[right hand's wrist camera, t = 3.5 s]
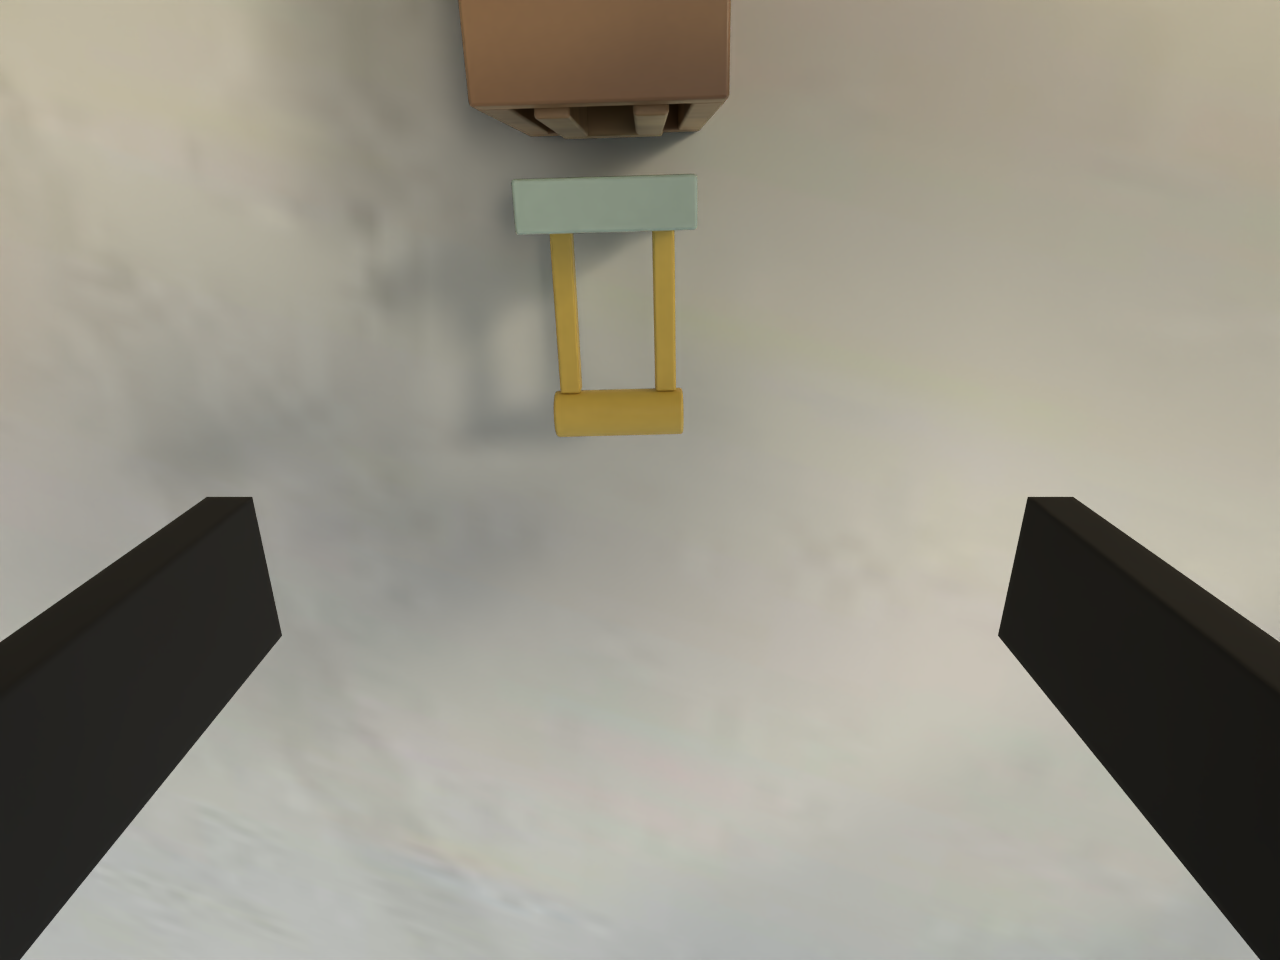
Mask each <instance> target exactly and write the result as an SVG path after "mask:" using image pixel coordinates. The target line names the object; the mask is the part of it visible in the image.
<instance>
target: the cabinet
mask: <svg viewBox="0 0 1280 960" xmlns="http://www.w3.org/2000/svg"><path fill="white" fill-rule="evenodd" d="M458 3H459V12H460V22H461V32H462V42H463V51H464V61H465V71H466V81H467V90H468V100H469V104H470V106H471V107H473V108H475V109H477V110H479V111H481V112H483V113H485V114H487V115H489V116H491V117H493V118H495V119H497V120H499V121H501V122H503V123H505V124H507V125H509V126H511V127H513V128H515V129H517V130H519V131H521V132H523V133H525V134H527V135H529V136H560V135H559V134H557V133H556V132H554V131H553V130H552V129H550V128H549V127H547V126H546V125H544V124H543V123H541V122H540V121H538V120H537V119H536V118H535V116H534V108H556V107H588V106H619V105H651V104H669V112H668V115H667V119H666V122H665V125H664V129H663V132H690V131H699V130H700V129H701V128H702V127H703V126H704V124H705V123H706V122H707V121H708V120H709V119H710V118H711V117H712V115H713V114H714V113H715V112H716V111H717V110H718V109H719V108H720V106H721V105H722V104H723V103H724V102H725V101H726V99H727V98H728V96H729V74H730V10H731V0H458Z"/></svg>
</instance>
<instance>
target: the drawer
mask: <svg viewBox="0 0 1280 960" xmlns="http://www.w3.org/2000/svg"><path fill="white" fill-rule="evenodd" d="M668 112H669V104H651V105H619V106H588V107H556V108H534V116H535V118H536V119H537V120H538V121H540V122H541V123H543V124H544V125H546V126H547V127H549V128H550V129H552V130H553V131H554V132H556V133H557V134H559V135H560V136H562V137H563V138H564V139H585V138H617V137H650V136H662V133H663V129H664V125H665V122H666V119H667V115H668ZM511 186H512V197H513V209H514V221H515V232H516V234H518V235H532V234H550V247H551V262H552V276H553V290H554V304H555V319H556V333H557V347H558V362H559V376H560V390H561V391H557V392H556V393H555V396H554V424H555V431H556V434H557V436H559V437H573V436H613V435H654V434H681V433H682V432H683V393H682V389H681V388H676V353H675V250H674V230H695V229H696V228H697V175H695V174H673V175H640V176H607V177H574V178H541V179H514V180H512V182H511ZM635 231H652V251H653V300H654V349H655V388H653V389H614V390H581V389H582V377H581V360H580V343H579V326H578V309H577V292H576V274H575V257H574V240H573V233H601V232H635Z"/></svg>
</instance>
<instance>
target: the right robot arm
mask: <svg viewBox="0 0 1280 960" xmlns="http://www.w3.org/2000/svg"><path fill="white" fill-rule="evenodd" d="M281 636H282V634H281V629H280V624H279V620H278V615H277V610H276V606H275V601H274V596H273V592H272V587H271V582H270V578H269V573H268V568H267V564H266V559H265V554H264V550H263V545H262V541H261V536H260V531H259V527H258V522H257V517H256V513H255V508H254V503H253V499H252V497H206V498H205V499H203V500H202V501H201V502H199V503H198V504H196V505H195V506H193V507H192V508H191V509H189V510H188V511H186V512H185V513H183V514H182V515H181V516H179V517H178V518H176V519H175V520H174V521H172V522H171V523H169V524H168V525H166V526H165V527H164V528H162V529H161V530H159V531H158V532H156V533H155V534H154V535H152V536H151V537H149V538H148V539H146V540H145V541H144V542H142V543H141V544H139V545H138V546H137V547H135V548H134V549H132V550H131V551H129V552H128V553H127V554H125V555H124V556H122V557H121V558H119V559H118V560H117V561H115V562H114V563H112V564H111V565H110V566H108V567H107V568H105V569H104V570H102V571H101V572H100V573H98V574H97V575H95V576H94V577H92V578H91V579H90V580H88V581H87V582H85V583H84V584H82V585H81V586H80V587H78V588H77V589H75V590H74V591H73V592H71V593H70V594H68V595H67V596H65V597H64V598H63V599H61V600H60V601H58V602H57V603H55V604H54V605H53V606H51V607H50V608H48V609H47V610H46V611H44V612H43V613H41V614H40V615H38V616H37V617H36V618H34V619H33V620H31V621H30V622H28V623H27V624H26V625H24V626H23V627H21V628H20V629H18V630H17V631H16V632H14V633H13V634H11V635H10V636H9V637H7V638H6V639H4V640H3V641H1V642H0V960H20V959H21V958H22V956H23V955H24V954H25V953H26V952H27V950H28V949H29V948H30V947H31V945H32V944H33V943H34V942H35V940H36V939H37V938H38V937H39V935H40V934H41V933H42V932H43V930H44V929H45V928H46V927H47V926H48V924H49V923H50V922H51V921H52V919H53V918H54V917H55V916H56V914H57V913H58V912H59V911H60V909H61V908H62V907H63V906H64V905H65V903H66V902H67V901H68V900H69V898H70V897H71V896H72V895H73V893H74V892H75V891H76V890H77V888H78V887H79V886H80V885H81V883H82V882H83V881H84V880H85V879H86V877H87V876H88V875H89V874H90V872H91V871H92V870H93V869H94V867H95V866H96V865H97V864H98V862H99V861H100V860H101V859H102V858H103V856H104V855H105V854H106V853H107V851H108V850H109V849H110V848H111V846H112V845H113V844H114V843H115V841H116V840H117V839H118V838H119V836H120V835H121V834H122V833H123V832H124V830H125V829H126V828H127V827H128V825H129V824H130V823H131V822H132V820H133V819H134V818H135V817H136V815H137V814H138V813H139V812H140V810H141V809H142V808H143V807H144V806H145V804H146V803H147V802H148V801H149V799H150V798H151V797H152V796H153V794H154V793H155V792H156V791H157V789H158V788H159V787H160V786H161V785H162V783H163V782H164V781H165V780H166V778H167V777H168V776H169V775H170V773H171V772H172V771H173V770H174V768H175V767H176V766H177V765H178V763H179V762H180V761H181V760H182V759H183V757H184V756H185V755H186V754H187V752H188V751H189V750H190V749H191V747H192V746H193V745H194V744H195V742H196V741H197V740H198V739H199V737H200V736H201V735H202V734H203V733H204V731H205V730H206V729H207V728H208V726H209V725H210V724H211V723H212V721H213V720H214V719H215V718H216V716H217V715H218V714H219V713H220V712H221V710H222V709H223V708H224V707H225V705H226V704H227V703H228V702H229V700H230V699H231V698H232V697H233V695H234V694H235V693H236V692H237V690H238V689H239V688H240V687H241V686H242V684H243V683H244V682H245V681H246V679H247V678H248V677H249V676H250V674H251V673H252V672H253V671H254V669H255V668H256V667H257V666H258V664H259V663H260V662H261V661H262V660H263V658H264V657H265V656H266V655H267V653H268V652H269V651H270V650H271V648H272V647H273V646H274V645H275V643H276V642H277V641H278V640H279V639H280V637H281ZM998 636H999V637H1000V639H1001V640H1002V641H1003V642H1004V643H1005V645H1006V646H1007V647H1008V648H1009V650H1010V651H1011V652H1012V653H1013V655H1014V656H1015V657H1016V658H1017V660H1018V661H1019V662H1020V663H1021V664H1022V666H1023V667H1024V668H1025V669H1026V671H1027V672H1028V673H1029V674H1030V676H1031V677H1032V678H1033V679H1034V681H1035V682H1036V683H1037V684H1038V686H1039V687H1040V688H1041V689H1042V690H1043V692H1044V693H1045V694H1046V695H1047V697H1048V698H1049V699H1050V700H1051V702H1052V703H1053V704H1054V705H1055V707H1056V708H1057V709H1058V710H1059V712H1060V713H1061V714H1062V715H1063V716H1064V718H1065V719H1066V720H1067V721H1068V723H1069V724H1070V725H1071V726H1072V728H1073V729H1074V730H1075V731H1076V733H1077V734H1078V735H1079V736H1080V737H1081V739H1082V740H1083V741H1084V742H1085V744H1086V745H1087V746H1088V747H1089V749H1090V750H1091V751H1092V752H1093V754H1094V755H1095V756H1096V757H1097V759H1098V760H1099V761H1100V762H1101V763H1102V765H1103V766H1104V767H1105V768H1106V770H1107V771H1108V772H1109V773H1110V775H1111V776H1112V777H1113V778H1114V780H1115V781H1116V782H1117V783H1118V785H1119V786H1120V787H1121V788H1122V789H1123V791H1124V792H1125V793H1126V794H1127V796H1128V797H1129V798H1130V799H1131V801H1132V802H1133V803H1134V804H1135V806H1136V807H1137V808H1138V809H1139V810H1140V812H1141V813H1142V814H1143V815H1144V817H1145V818H1146V819H1147V820H1148V822H1149V823H1150V824H1151V825H1152V827H1153V828H1154V829H1155V830H1156V832H1157V833H1158V834H1159V835H1160V836H1161V838H1162V839H1163V840H1164V841H1165V843H1166V844H1167V845H1168V846H1169V848H1170V849H1171V850H1172V851H1173V853H1174V854H1175V855H1176V856H1177V858H1178V859H1179V860H1180V861H1181V862H1182V864H1183V865H1184V866H1185V867H1186V869H1187V870H1188V871H1189V872H1190V874H1191V875H1192V876H1193V877H1194V879H1195V880H1196V881H1197V882H1198V883H1199V885H1200V886H1201V887H1202V888H1203V890H1204V891H1205V892H1206V893H1207V895H1208V896H1209V897H1210V898H1211V900H1212V901H1213V902H1214V903H1215V905H1216V906H1217V907H1218V908H1219V909H1220V911H1221V912H1222V913H1223V914H1224V916H1225V917H1226V918H1227V919H1228V921H1229V922H1230V923H1231V924H1232V926H1233V927H1234V928H1235V929H1236V931H1237V932H1238V933H1239V934H1240V935H1241V937H1242V938H1243V939H1244V940H1245V942H1246V943H1247V944H1248V945H1249V947H1250V948H1251V949H1252V950H1253V952H1254V953H1255V954H1256V955H1257V956H1258V958H1259V959H1260V960H1280V642H1279V641H1277V640H1276V639H1274V638H1273V637H1271V636H1270V635H1269V634H1267V633H1266V632H1264V631H1263V630H1262V629H1260V628H1259V627H1257V626H1256V625H1254V624H1253V623H1252V622H1250V621H1249V620H1247V619H1246V618H1244V617H1243V616H1242V615H1240V614H1239V613H1237V612H1236V611H1234V610H1233V609H1232V608H1230V607H1229V606H1227V605H1226V604H1225V603H1223V602H1222V601H1220V600H1219V599H1217V598H1216V597H1215V596H1213V595H1212V594H1210V593H1209V592H1207V591H1206V590H1205V589H1203V588H1202V587H1200V586H1199V585H1198V584H1196V583H1195V582H1193V581H1192V580H1190V579H1189V578H1188V577H1186V576H1185V575H1183V574H1182V573H1180V572H1179V571H1178V570H1176V569H1175V568H1173V567H1172V566H1170V565H1169V564H1168V563H1166V562H1165V561H1163V560H1162V559H1161V558H1159V557H1158V556H1156V555H1155V554H1153V553H1152V552H1151V551H1149V550H1148V549H1146V548H1145V547H1143V546H1142V545H1141V544H1139V543H1138V542H1136V541H1135V540H1134V539H1132V538H1131V537H1129V536H1128V535H1126V534H1125V533H1124V532H1122V531H1121V530H1119V529H1118V528H1116V527H1115V526H1114V525H1112V524H1111V523H1109V522H1108V521H1106V520H1105V519H1104V518H1102V517H1101V516H1099V515H1098V514H1097V513H1095V512H1094V511H1092V510H1091V509H1089V508H1088V507H1087V506H1085V505H1084V504H1082V503H1081V502H1079V501H1078V500H1077V499H1075V498H1074V497H1028V499H1027V503H1026V508H1025V513H1024V517H1023V522H1022V527H1021V531H1020V536H1019V541H1018V545H1017V550H1016V554H1015V559H1014V564H1013V568H1012V573H1011V578H1010V582H1009V587H1008V592H1007V596H1006V601H1005V606H1004V610H1003V615H1002V620H1001V624H1000V629H999V634H998Z"/></svg>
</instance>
